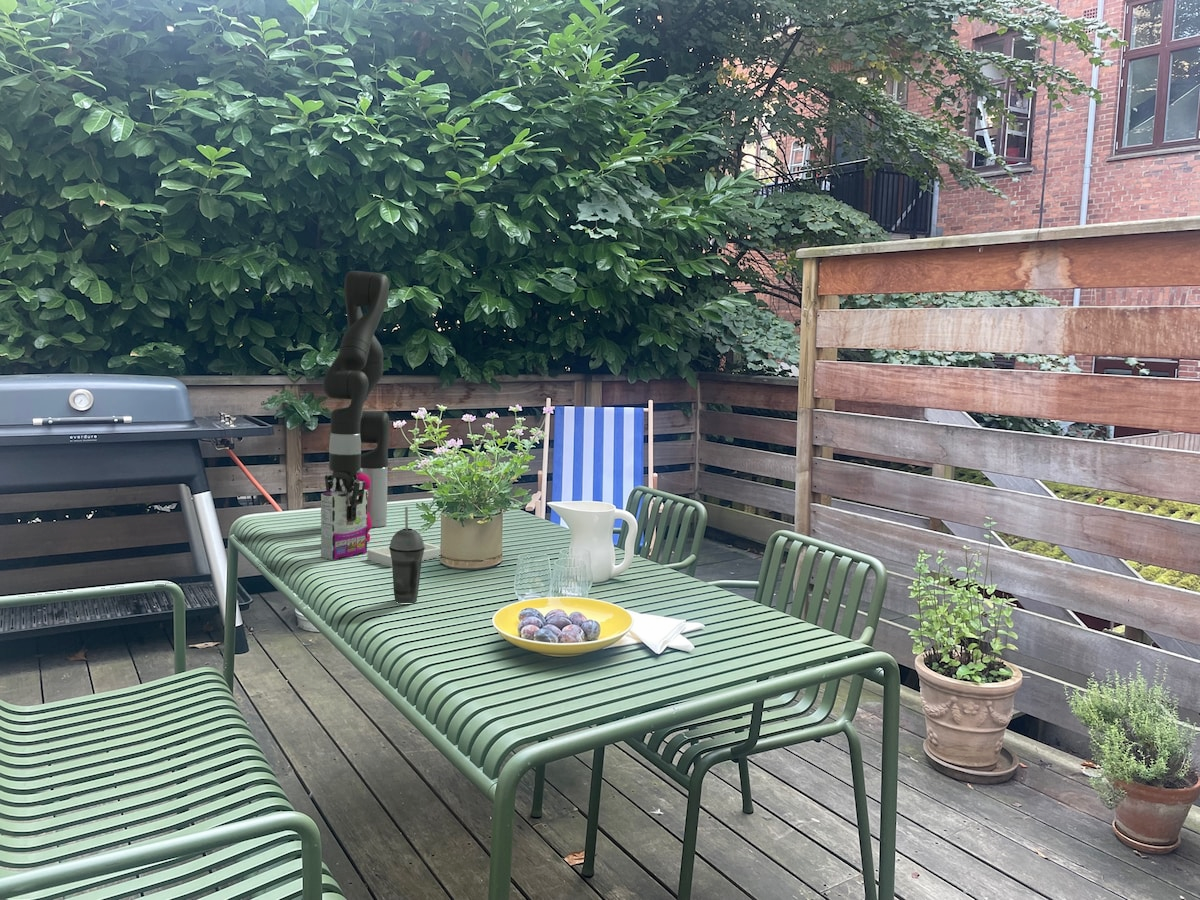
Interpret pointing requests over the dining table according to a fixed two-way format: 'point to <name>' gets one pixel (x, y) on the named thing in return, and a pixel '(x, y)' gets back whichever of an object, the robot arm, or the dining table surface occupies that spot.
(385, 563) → the tray
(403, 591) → the beverage cup
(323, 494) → the candy bar box
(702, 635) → the dining table surface
